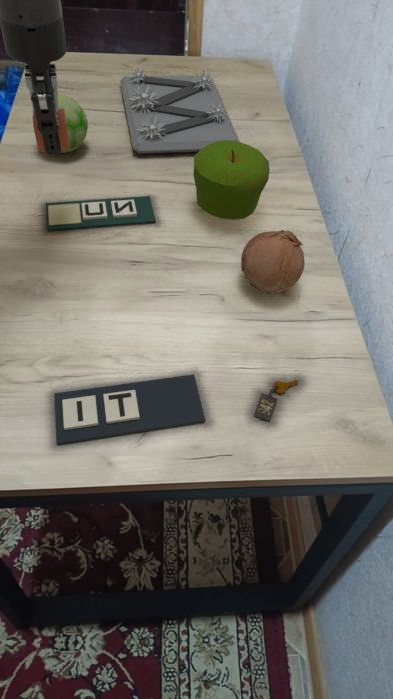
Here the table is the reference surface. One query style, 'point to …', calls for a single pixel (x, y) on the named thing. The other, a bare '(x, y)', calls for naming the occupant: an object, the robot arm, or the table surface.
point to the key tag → (271, 400)
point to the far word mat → (99, 213)
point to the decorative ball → (73, 121)
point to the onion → (273, 261)
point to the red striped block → (62, 132)
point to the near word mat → (127, 409)
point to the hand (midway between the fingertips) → (53, 143)
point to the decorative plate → (174, 113)
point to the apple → (229, 179)
